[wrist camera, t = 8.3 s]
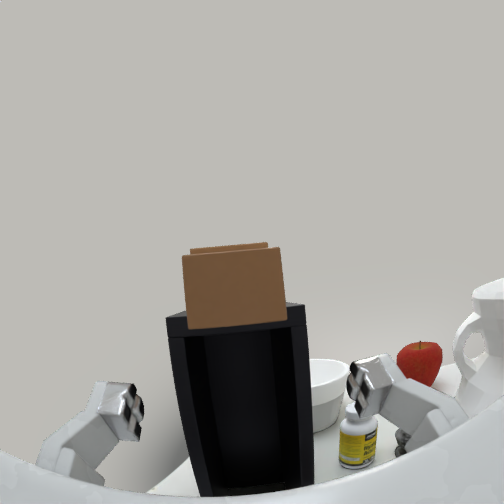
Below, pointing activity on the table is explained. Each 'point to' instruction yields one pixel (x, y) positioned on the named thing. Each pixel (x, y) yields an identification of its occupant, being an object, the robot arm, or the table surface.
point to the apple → (420, 361)
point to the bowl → (327, 390)
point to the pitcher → (491, 360)
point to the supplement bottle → (357, 439)
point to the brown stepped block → (233, 286)
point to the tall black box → (245, 402)
